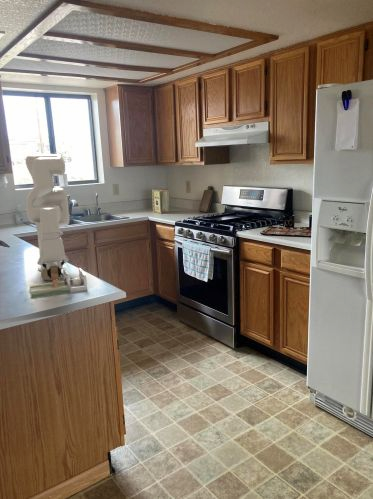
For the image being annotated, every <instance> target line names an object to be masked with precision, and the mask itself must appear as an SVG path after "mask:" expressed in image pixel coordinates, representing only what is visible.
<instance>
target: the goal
mask: <svg viewBox="0 0 373 499" xmlns="http://www.w3.org/2000/svg"><path fill="white" fill-rule="evenodd" d="M62 271H63V272H62V273H63V276H64V279H63V281H65V284H66V286H67V288H68V293H67V294H71V293H79V292H85V291H88V285H87V284H88V282H87V274H86V272H84V270H83V269H82V268H81V267H78V276H79V277H78V278H79V279H81V285H80V286H78V287H76V286H74V285H73V284H72V281H73V279H74V278H72V279H71V277H70V274H69V271H68V270H67V268H66V267H62Z"/></svg>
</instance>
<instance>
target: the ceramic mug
mask: <svg viewBox="0 0 373 499" xmlns="http://www.w3.org/2000/svg"><path fill="white" fill-rule="evenodd" d="M50 266H56V264H55V263H53V262H49V267H50ZM57 267H58V266H57ZM40 272H41V273H40V275H41V277H42V278H41V279H43V280H45V281H47V282H50V281H51V282H52V280H51V278H49V276H48V275H47V269H46V268H45V267H43V269H42V271H40ZM58 280H64V276H63V272H62V271H61V275H60V277H59V279H58Z"/></svg>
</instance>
